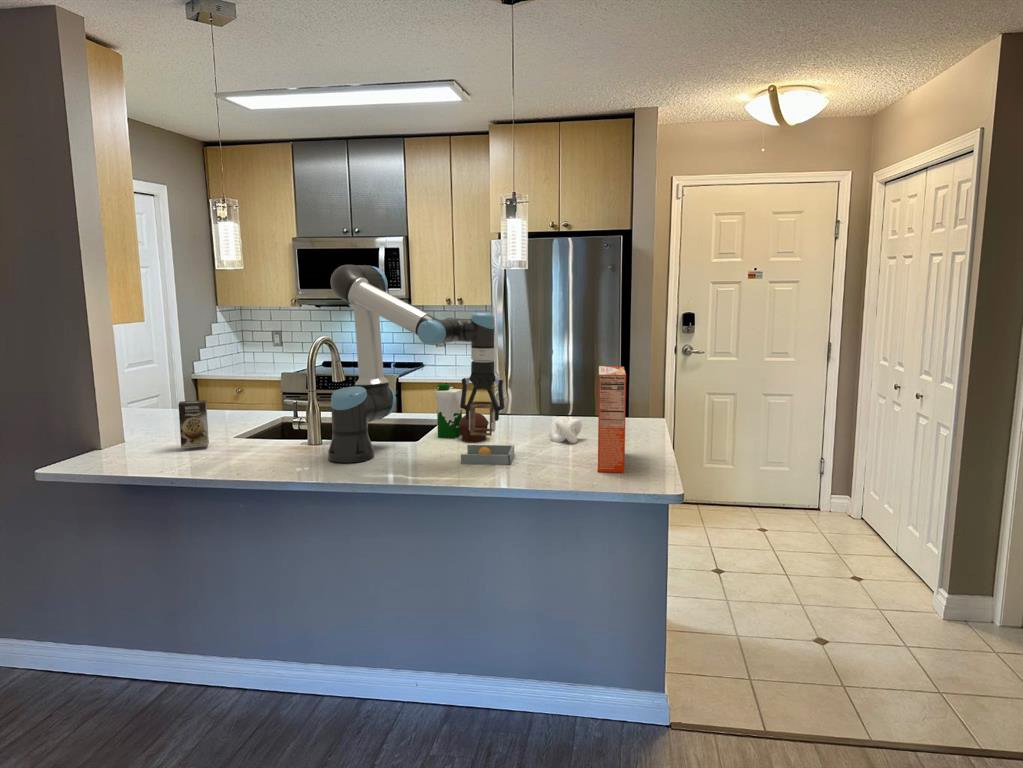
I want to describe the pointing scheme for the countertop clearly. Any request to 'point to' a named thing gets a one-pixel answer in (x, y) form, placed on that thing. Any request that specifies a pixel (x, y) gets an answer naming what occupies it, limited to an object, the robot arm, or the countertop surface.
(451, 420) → the milk carton
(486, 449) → the ball
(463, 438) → the muffin
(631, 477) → the countertop surface
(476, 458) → the u-shaped frame
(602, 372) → the cereal box
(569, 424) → the white knot sculpture
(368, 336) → the robot arm
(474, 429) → the open box frame
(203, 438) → the brown tall box
